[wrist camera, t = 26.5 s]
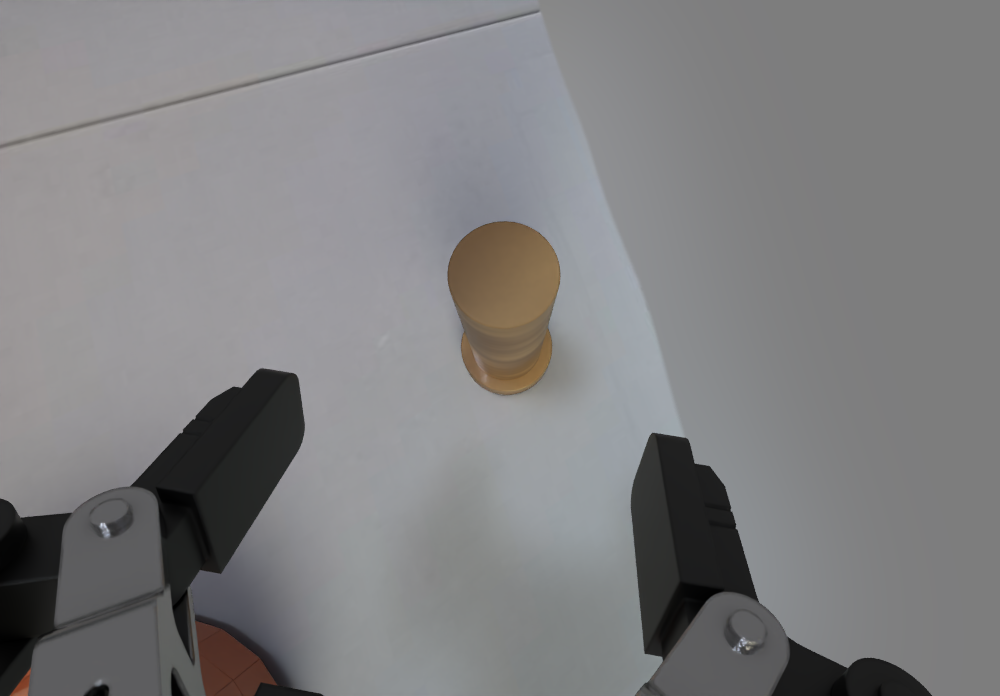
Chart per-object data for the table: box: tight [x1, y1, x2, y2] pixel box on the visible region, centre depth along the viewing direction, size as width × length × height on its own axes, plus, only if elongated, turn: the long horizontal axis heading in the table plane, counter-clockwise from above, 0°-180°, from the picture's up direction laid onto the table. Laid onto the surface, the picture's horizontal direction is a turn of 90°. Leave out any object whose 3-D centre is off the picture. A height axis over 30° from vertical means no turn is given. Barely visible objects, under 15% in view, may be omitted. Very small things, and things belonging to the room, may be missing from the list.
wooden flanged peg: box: [448, 221, 560, 395], centre depth 23 cm, size 5×5×13 cm
